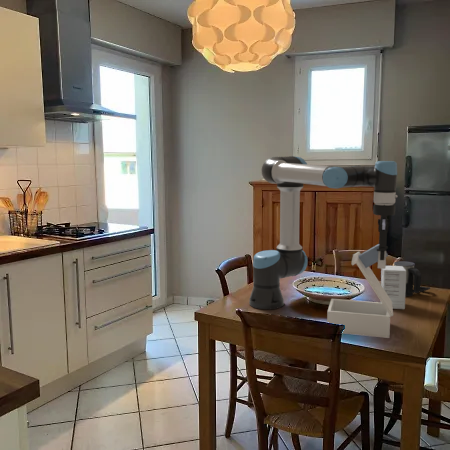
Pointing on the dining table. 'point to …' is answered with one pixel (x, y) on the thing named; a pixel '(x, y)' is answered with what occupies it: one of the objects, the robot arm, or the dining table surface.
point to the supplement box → (394, 285)
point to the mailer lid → (372, 274)
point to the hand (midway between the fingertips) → (381, 266)
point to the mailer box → (360, 317)
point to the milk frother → (411, 274)
